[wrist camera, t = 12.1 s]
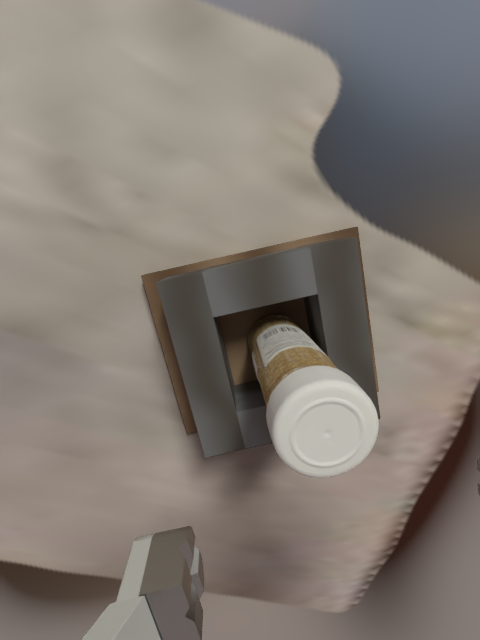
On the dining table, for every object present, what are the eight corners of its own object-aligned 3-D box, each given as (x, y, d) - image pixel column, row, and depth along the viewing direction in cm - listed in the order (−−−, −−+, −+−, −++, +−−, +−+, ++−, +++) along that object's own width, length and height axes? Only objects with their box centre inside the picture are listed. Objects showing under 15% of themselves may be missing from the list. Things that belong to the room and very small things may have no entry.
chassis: (188, 427, 28) (180, 469, 23) (144, 274, 25) (122, 281, 20) (373, 386, 28) (408, 418, 23) (352, 227, 25) (386, 222, 20)
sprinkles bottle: (244, 363, 26) (265, 480, 13) (250, 310, 25) (279, 378, 12) (298, 368, 27) (371, 485, 14) (306, 315, 26) (393, 386, 13)
